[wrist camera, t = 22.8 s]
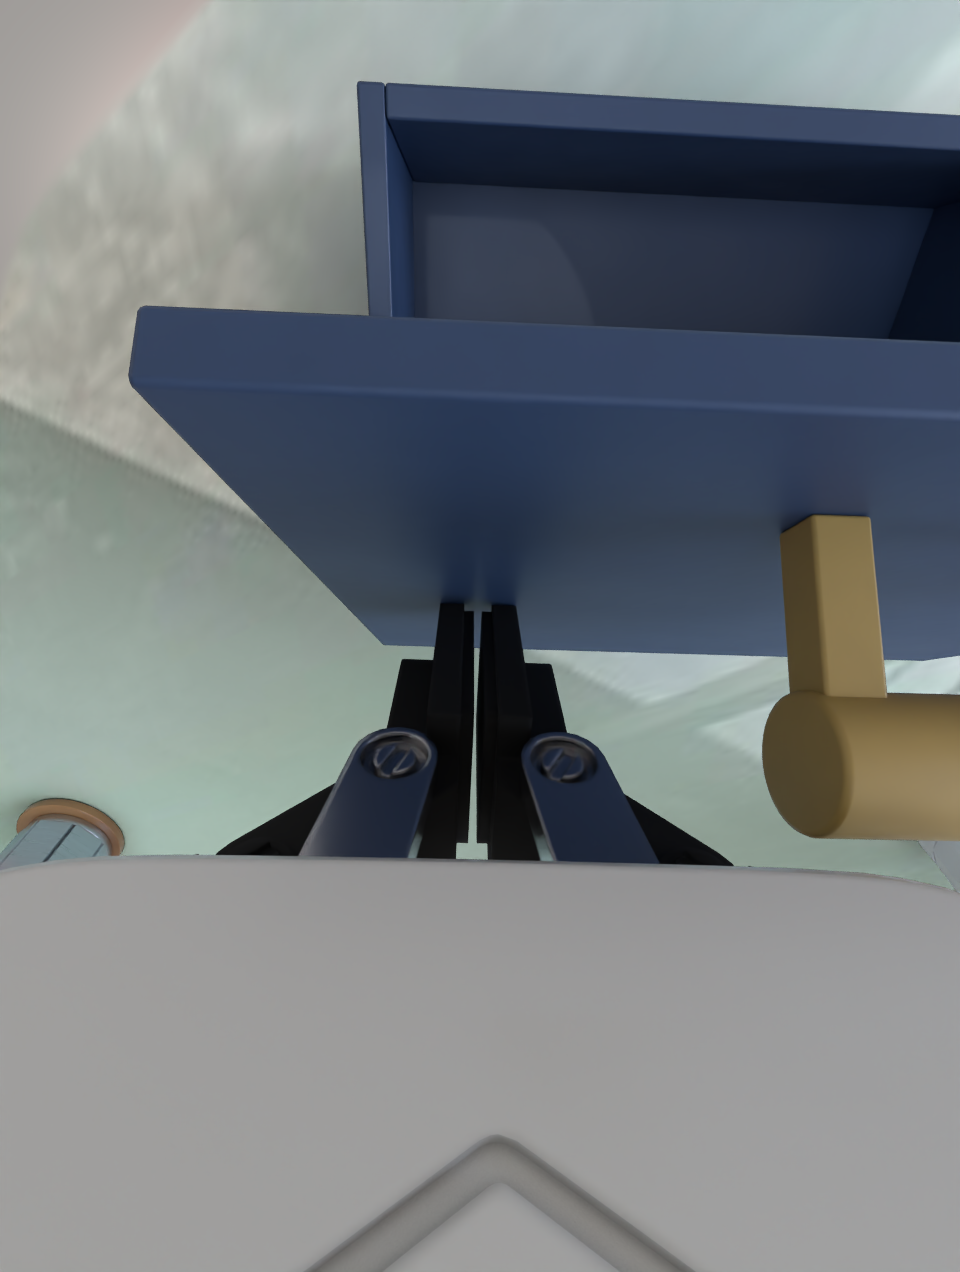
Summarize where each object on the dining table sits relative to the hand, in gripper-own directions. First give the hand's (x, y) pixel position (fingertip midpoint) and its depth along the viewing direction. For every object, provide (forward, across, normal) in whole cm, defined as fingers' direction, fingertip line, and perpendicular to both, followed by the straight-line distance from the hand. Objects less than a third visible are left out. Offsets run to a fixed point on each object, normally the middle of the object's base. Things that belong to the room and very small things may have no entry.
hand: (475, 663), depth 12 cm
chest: (+12, -6, -4) cm, 14 cm away
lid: (0, -6, -2) cm, 6 cm away
